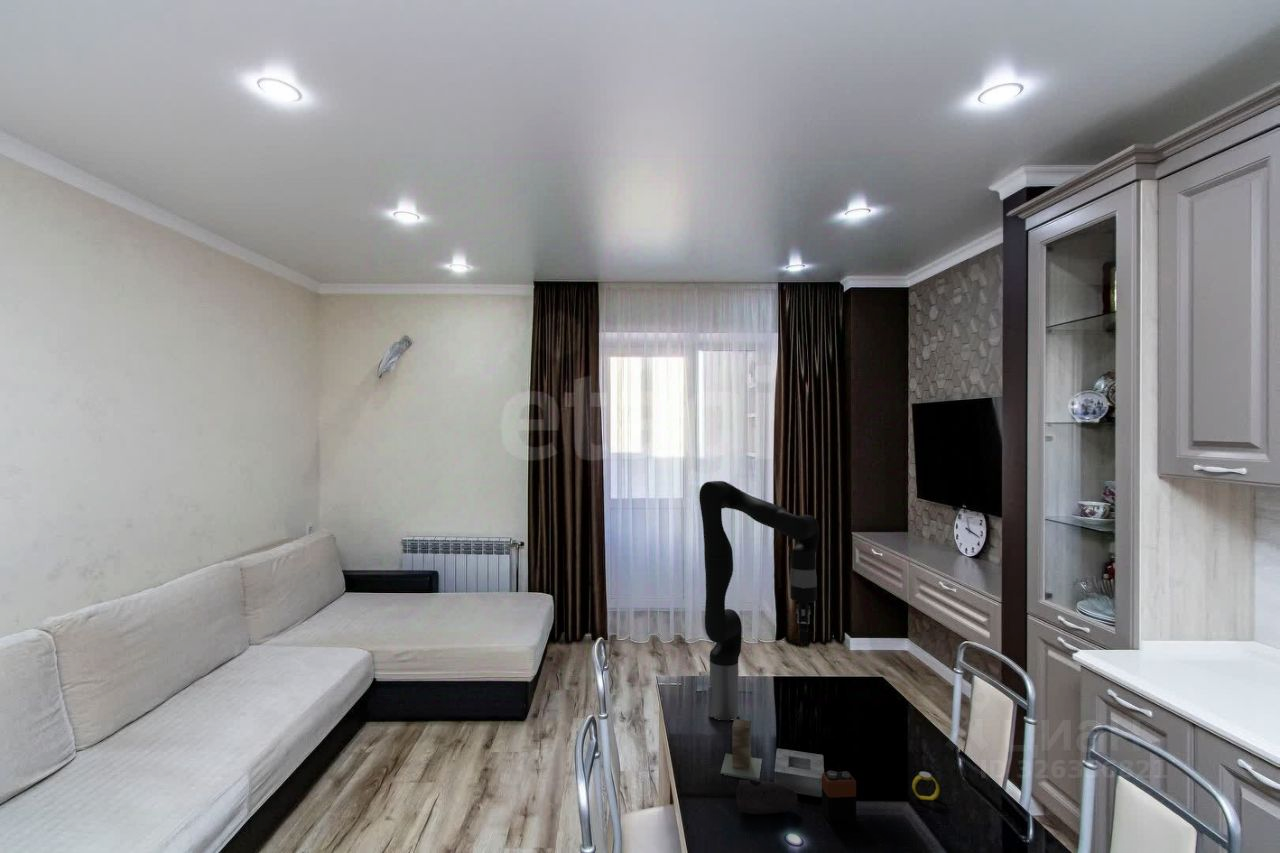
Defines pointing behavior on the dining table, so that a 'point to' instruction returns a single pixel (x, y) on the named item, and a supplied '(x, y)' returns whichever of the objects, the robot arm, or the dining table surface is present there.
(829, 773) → the battery
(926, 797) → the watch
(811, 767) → the post block
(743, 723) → the birch peg
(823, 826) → the dining table surface
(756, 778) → the sage mat
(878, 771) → the dining table surface
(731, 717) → the robot arm
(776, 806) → the perforated stone tool
